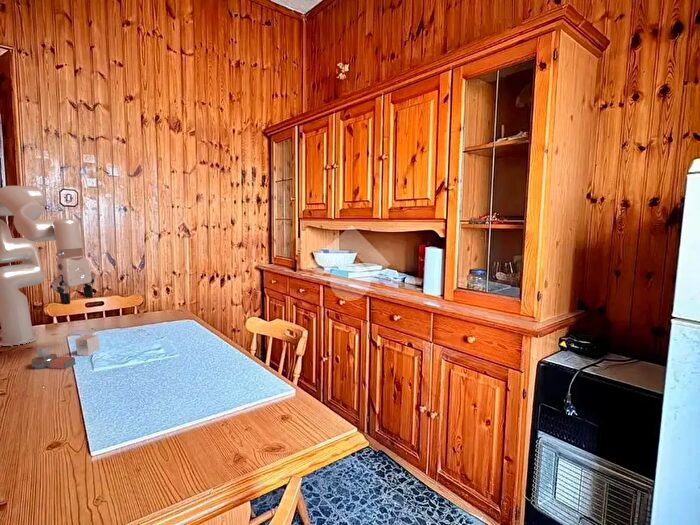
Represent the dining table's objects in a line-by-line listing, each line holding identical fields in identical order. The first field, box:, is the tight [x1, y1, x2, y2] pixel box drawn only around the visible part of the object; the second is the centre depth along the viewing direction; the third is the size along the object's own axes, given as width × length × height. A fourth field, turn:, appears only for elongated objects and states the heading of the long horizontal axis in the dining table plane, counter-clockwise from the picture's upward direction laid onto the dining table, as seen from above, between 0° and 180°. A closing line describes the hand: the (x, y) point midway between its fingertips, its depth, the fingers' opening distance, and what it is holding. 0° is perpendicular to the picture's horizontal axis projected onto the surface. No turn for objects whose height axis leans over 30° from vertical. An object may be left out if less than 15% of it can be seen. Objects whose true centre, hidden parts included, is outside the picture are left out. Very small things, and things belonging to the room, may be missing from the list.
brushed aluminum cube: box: [74, 334, 101, 357], centre depth 148 cm, size 5×5×6 cm
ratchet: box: [30, 346, 77, 370], centre depth 137 cm, size 14×7×6 cm, turn 78°
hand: (77, 300), depth 145 cm, fingers open, 9 cm apart
